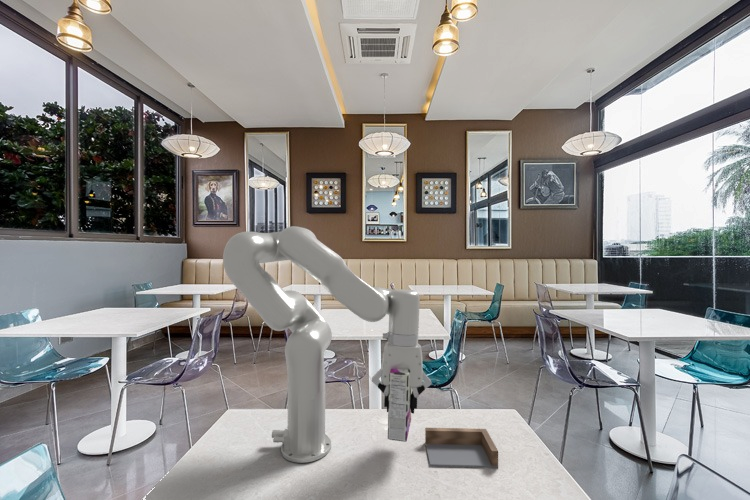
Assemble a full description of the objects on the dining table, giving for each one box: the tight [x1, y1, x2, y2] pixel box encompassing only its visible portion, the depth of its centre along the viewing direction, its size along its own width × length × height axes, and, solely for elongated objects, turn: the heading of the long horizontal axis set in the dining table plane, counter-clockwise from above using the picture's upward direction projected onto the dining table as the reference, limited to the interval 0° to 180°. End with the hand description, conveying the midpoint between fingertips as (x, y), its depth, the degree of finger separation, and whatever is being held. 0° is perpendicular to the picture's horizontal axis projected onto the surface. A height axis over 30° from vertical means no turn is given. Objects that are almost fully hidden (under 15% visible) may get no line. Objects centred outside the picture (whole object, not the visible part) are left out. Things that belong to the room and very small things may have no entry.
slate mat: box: [425, 444, 499, 469], centre depth 86 cm, size 16×10×1 cm, turn 88°
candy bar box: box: [387, 369, 412, 443], centre depth 86 cm, size 11×5×16 cm, turn 169°
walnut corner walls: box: [424, 427, 499, 467], centre depth 86 cm, size 16×10×4 cm, turn 88°
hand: (400, 409), depth 86 cm, fingers closed on candy bar box, 5 cm apart
